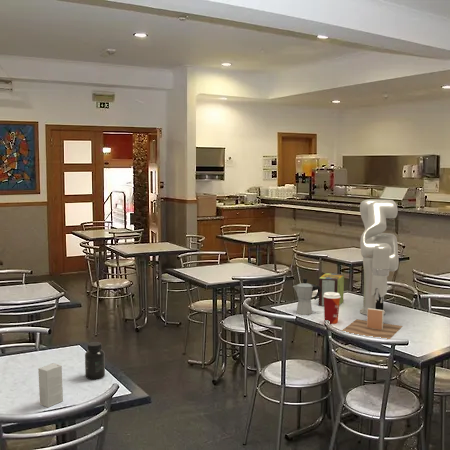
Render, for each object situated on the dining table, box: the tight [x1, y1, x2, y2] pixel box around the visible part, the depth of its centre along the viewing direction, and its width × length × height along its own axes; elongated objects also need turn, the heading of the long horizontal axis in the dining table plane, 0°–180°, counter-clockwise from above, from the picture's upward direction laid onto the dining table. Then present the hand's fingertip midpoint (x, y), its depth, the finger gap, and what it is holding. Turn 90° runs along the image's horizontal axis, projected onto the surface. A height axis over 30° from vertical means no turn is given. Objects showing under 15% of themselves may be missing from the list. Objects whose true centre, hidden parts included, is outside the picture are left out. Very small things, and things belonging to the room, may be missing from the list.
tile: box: [366, 308, 385, 330], centre depth 258 cm, size 2×7×9 cm, turn 59°
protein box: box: [318, 272, 345, 307], centre depth 308 cm, size 10×15×16 cm
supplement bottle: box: [84, 341, 106, 381], centre depth 201 cm, size 7×7×12 cm
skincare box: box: [37, 362, 64, 408], centre depth 179 cm, size 6×4×12 cm
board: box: [341, 318, 403, 340], centre depth 258 cm, size 24×22×1 cm
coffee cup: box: [323, 292, 340, 325], centre depth 269 cm, size 8×8×15 cm
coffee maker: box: [292, 277, 322, 316], centre depth 289 cm, size 15×9×18 cm, turn 83°
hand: (379, 310), depth 263 cm, fingers closed
